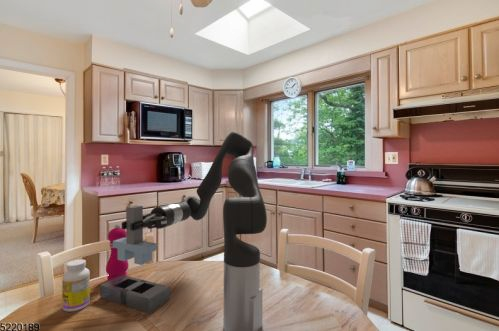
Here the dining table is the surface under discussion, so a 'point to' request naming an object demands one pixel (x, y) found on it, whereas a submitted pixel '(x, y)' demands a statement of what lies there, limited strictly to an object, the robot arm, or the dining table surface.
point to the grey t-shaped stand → (134, 240)
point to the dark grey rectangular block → (135, 293)
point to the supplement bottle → (75, 286)
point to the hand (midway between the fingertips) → (126, 226)
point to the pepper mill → (116, 255)
